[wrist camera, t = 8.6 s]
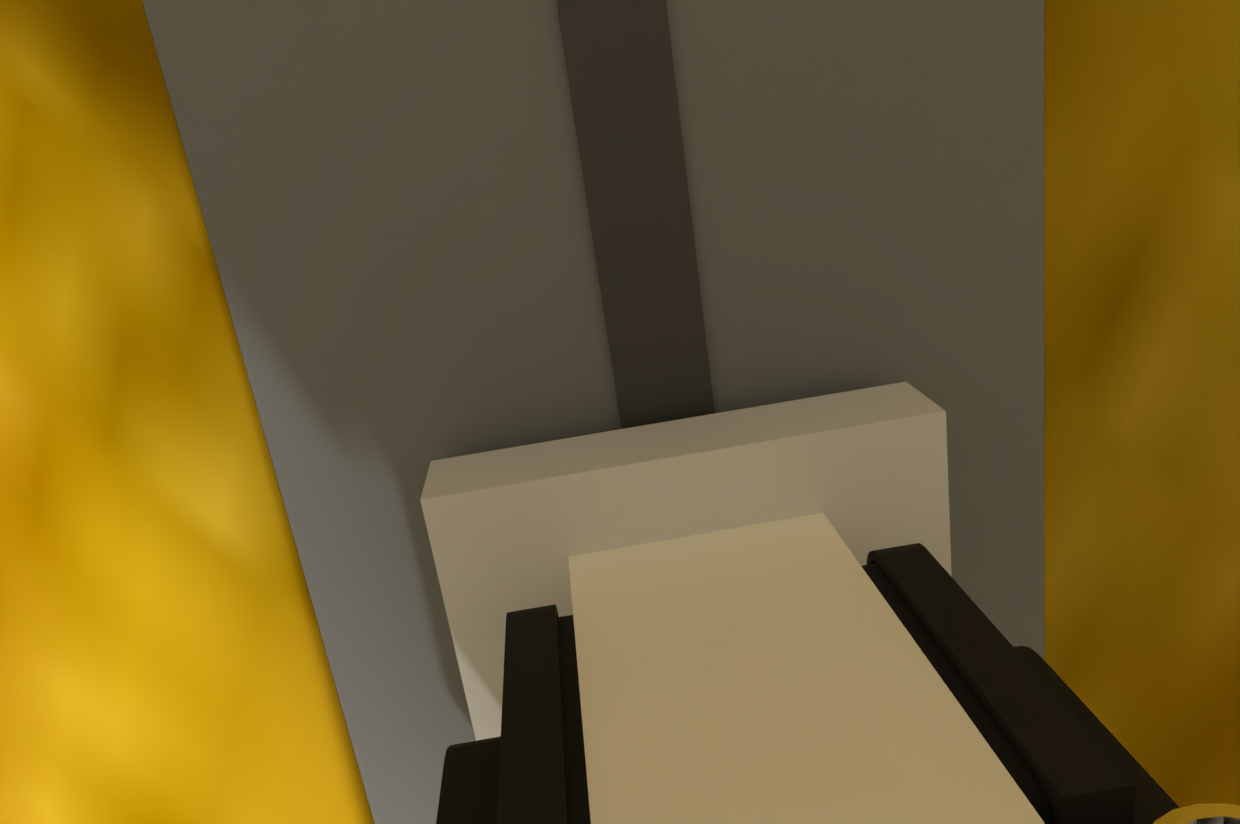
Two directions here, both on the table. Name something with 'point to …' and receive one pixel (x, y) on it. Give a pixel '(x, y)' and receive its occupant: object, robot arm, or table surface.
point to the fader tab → (727, 611)
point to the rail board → (605, 266)
